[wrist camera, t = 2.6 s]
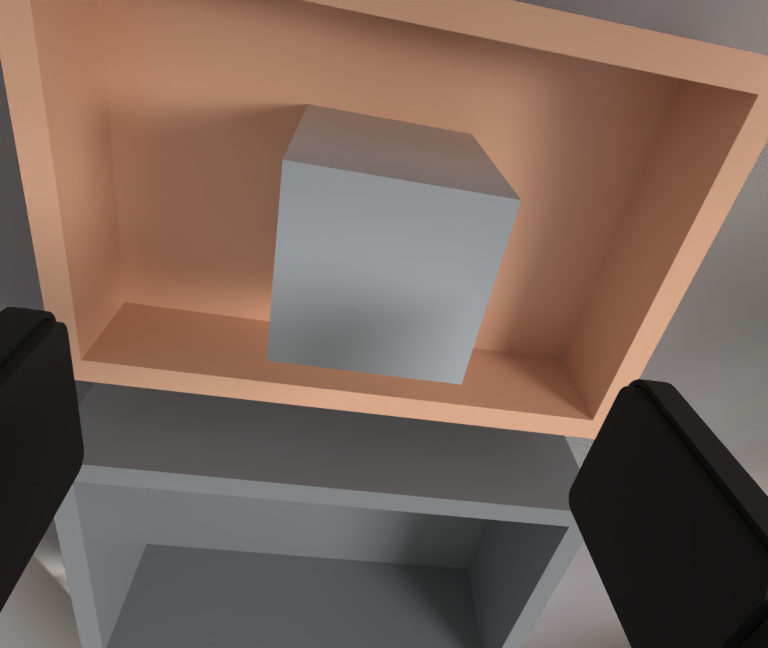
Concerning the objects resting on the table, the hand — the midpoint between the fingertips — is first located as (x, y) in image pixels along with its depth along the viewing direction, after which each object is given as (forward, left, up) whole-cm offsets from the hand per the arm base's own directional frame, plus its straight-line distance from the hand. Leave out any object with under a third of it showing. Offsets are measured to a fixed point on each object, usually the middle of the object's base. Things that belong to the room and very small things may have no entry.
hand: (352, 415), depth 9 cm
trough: (-1, +1, -11) cm, 11 cm away
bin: (+13, +1, -11) cm, 17 cm away
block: (-1, +1, -10) cm, 10 cm away
